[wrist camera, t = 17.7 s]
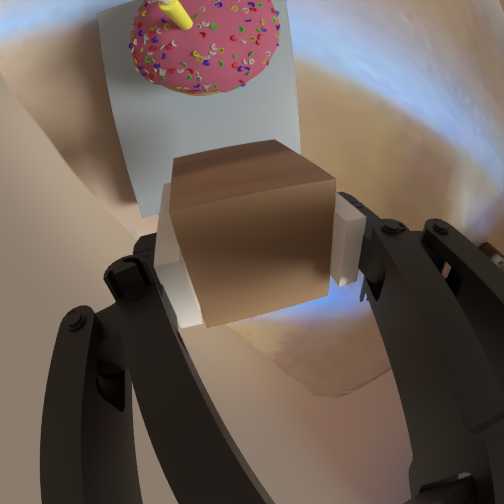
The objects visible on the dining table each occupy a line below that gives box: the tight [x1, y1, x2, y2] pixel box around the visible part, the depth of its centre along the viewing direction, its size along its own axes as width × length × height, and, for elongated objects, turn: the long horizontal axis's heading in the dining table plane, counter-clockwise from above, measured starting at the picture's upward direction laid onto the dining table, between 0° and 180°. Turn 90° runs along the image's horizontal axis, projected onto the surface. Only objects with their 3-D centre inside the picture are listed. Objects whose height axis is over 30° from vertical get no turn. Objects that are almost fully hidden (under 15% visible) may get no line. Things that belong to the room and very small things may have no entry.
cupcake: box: [129, 0, 281, 96], centre depth 10 cm, size 9×8×12 cm
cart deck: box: [97, 0, 301, 218], centre depth 18 cm, size 18×14×3 cm
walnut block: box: [169, 139, 336, 328], centre depth 11 cm, size 5×5×6 cm
